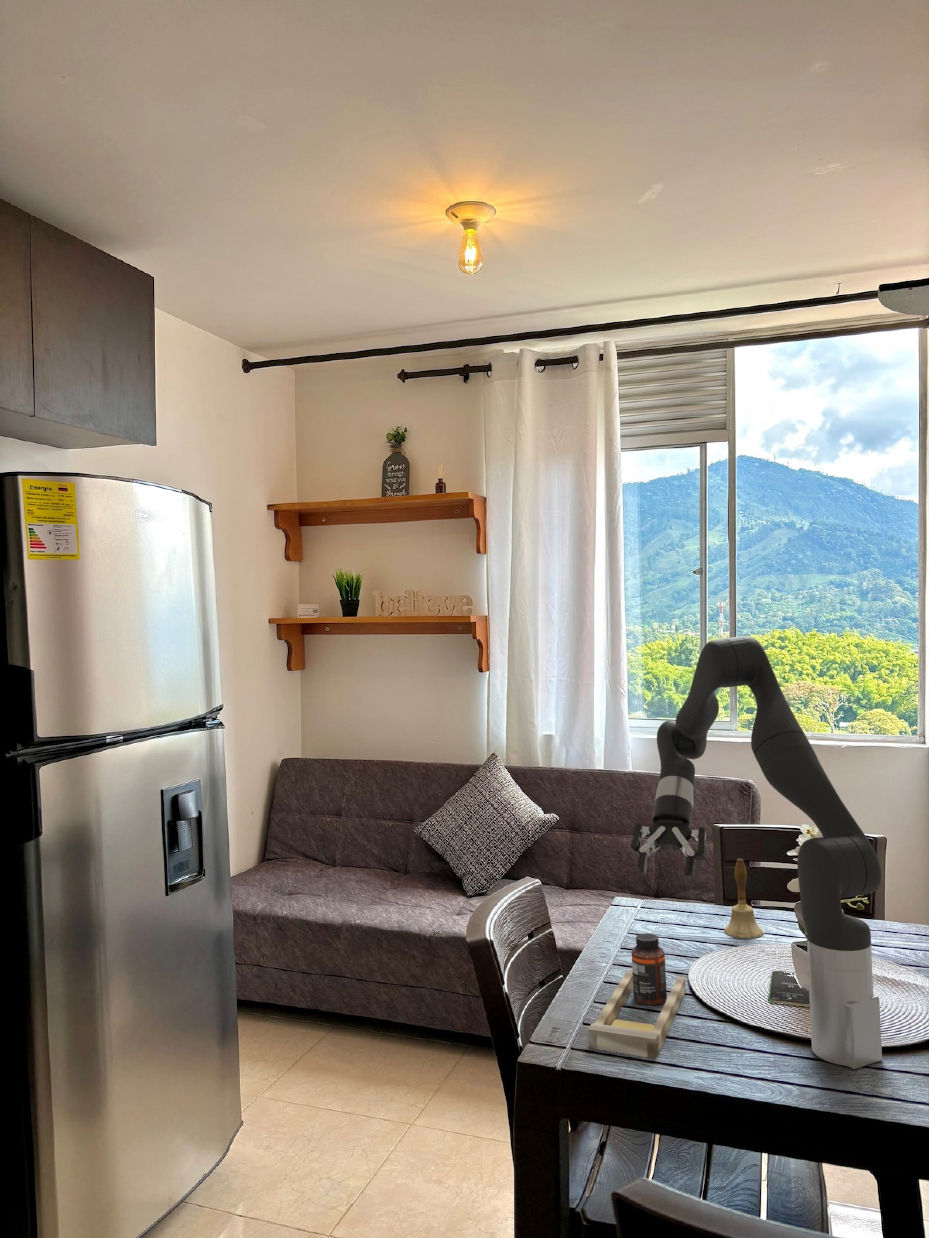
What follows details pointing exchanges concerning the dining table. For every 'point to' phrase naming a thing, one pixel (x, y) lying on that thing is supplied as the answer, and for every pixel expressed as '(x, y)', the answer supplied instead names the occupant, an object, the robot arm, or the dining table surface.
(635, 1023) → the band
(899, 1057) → the dining table surface
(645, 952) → the supplement bottle
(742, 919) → the hand bell
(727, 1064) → the dining table surface
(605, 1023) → the open wooden tray frame
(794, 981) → the small black book
